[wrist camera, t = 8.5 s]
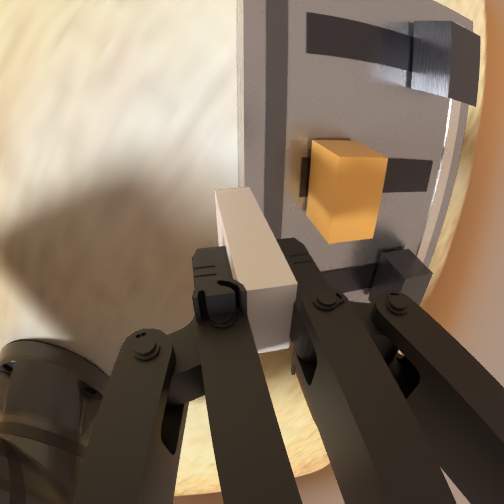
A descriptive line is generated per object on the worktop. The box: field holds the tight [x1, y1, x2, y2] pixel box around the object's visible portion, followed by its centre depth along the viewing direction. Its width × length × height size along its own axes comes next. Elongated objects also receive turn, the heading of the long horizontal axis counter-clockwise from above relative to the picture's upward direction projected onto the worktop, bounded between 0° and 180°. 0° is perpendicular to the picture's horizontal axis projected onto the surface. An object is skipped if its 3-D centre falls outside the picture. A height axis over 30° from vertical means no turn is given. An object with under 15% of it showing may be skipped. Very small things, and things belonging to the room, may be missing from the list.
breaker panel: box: [237, 0, 480, 305], centre depth 19 cm, size 18×28×6 cm, turn 0°
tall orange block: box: [306, 140, 388, 244], centre depth 17 cm, size 3×5×4 cm, turn 0°
